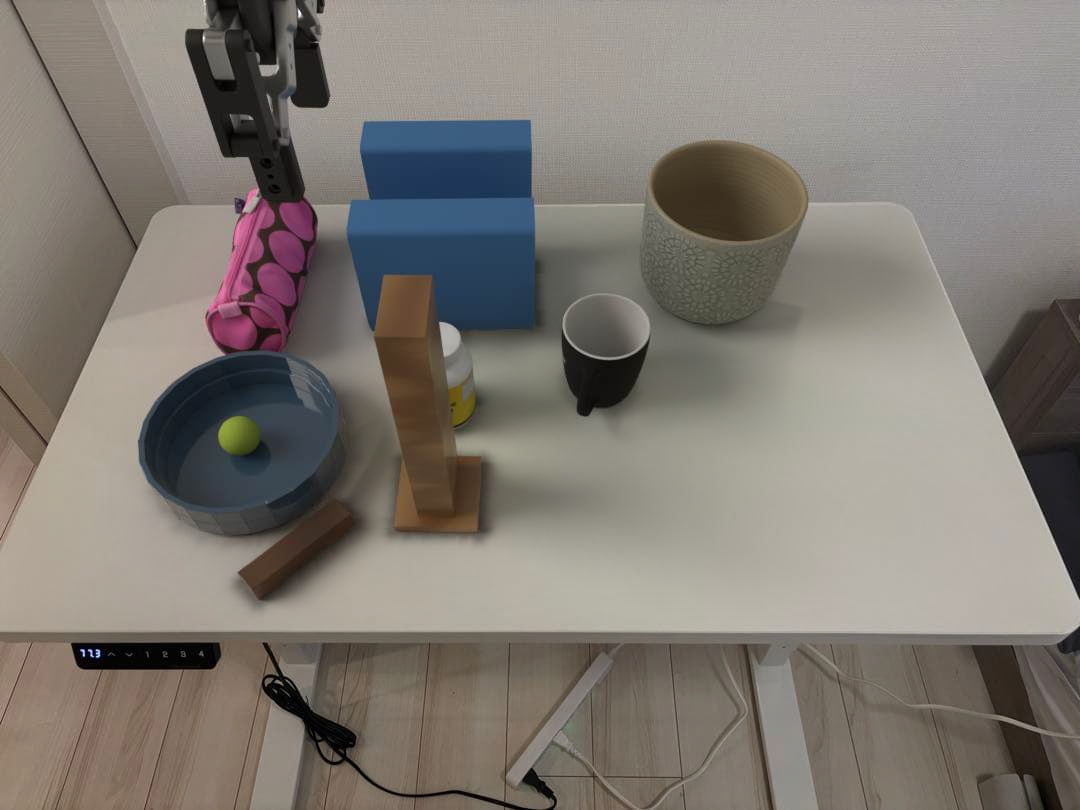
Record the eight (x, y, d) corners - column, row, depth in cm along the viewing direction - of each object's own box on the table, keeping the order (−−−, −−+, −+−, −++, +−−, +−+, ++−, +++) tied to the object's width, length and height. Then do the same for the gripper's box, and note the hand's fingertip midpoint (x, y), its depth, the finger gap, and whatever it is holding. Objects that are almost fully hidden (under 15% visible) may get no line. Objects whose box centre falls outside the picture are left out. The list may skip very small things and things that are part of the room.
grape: (220, 434, 77) (221, 406, 80) (215, 462, 79) (216, 434, 82) (263, 437, 78) (263, 409, 81) (257, 465, 81) (257, 437, 84)
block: (388, 242, 100) (364, 118, 86) (530, 240, 101) (530, 116, 86) (375, 353, 90) (345, 232, 75) (534, 350, 90) (535, 230, 76)
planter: (782, 345, 91) (822, 246, 79) (635, 341, 91) (652, 242, 79) (762, 243, 101) (794, 140, 89) (629, 240, 101) (643, 137, 89)
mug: (573, 345, 91) (577, 283, 83) (649, 366, 89) (661, 305, 81) (538, 427, 84) (539, 368, 76) (619, 451, 83) (629, 394, 74)
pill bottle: (403, 411, 85) (388, 342, 76) (445, 375, 88) (435, 304, 79) (447, 444, 83) (436, 377, 73) (488, 406, 86) (484, 336, 76)
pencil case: (248, 236, 101) (223, 172, 93) (325, 235, 101) (306, 170, 93) (214, 369, 88) (182, 308, 80) (301, 367, 89) (278, 306, 80)
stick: (351, 513, 75) (355, 525, 77) (336, 497, 76) (340, 509, 78) (251, 590, 71) (259, 600, 73) (236, 572, 72) (244, 583, 74)
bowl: (235, 575, 74) (218, 552, 70) (120, 460, 81) (98, 433, 77) (386, 445, 83) (379, 418, 79) (270, 351, 90) (258, 322, 86)
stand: (395, 531, 77) (339, 347, 54) (404, 461, 82) (355, 264, 59) (477, 532, 77) (456, 348, 54) (481, 462, 82) (463, 265, 59)
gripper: (162, -251, 36) (259, 77, 49) (48, -119, 28) (201, 234, 41) (328, -248, 36) (380, 79, 49) (263, -115, 28) (347, 236, 41)
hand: (299, 149), depth 45 cm, fingers open, 8 cm apart
